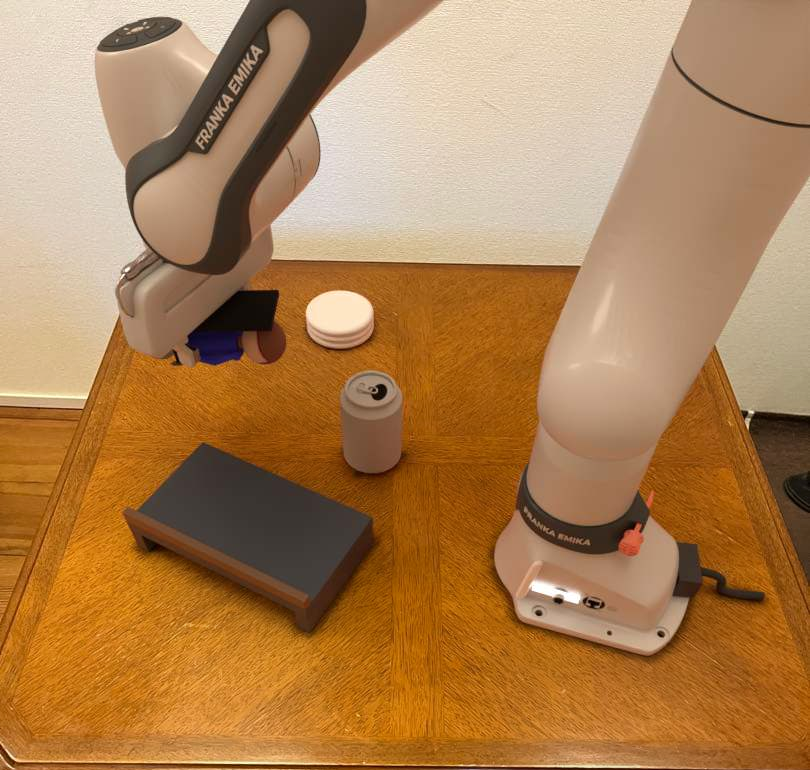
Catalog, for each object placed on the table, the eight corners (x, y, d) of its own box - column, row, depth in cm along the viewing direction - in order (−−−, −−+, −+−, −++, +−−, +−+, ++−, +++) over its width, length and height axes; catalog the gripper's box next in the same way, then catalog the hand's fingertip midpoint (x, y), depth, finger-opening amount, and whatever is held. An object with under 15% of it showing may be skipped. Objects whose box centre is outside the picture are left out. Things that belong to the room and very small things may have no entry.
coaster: (297, 342, 109) (294, 323, 106) (321, 302, 115) (319, 283, 112) (361, 356, 107) (360, 337, 104) (382, 315, 113) (382, 296, 110)
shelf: (373, 542, 88) (372, 508, 83) (310, 633, 81) (304, 602, 75) (210, 468, 94) (199, 432, 89) (138, 546, 87) (121, 512, 82)
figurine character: (156, 387, 82) (287, 377, 81) (128, 332, 76) (269, 320, 75) (169, 348, 86) (294, 338, 85) (143, 292, 80) (277, 280, 79)
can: (394, 482, 93) (395, 413, 84) (337, 472, 94) (331, 403, 84) (406, 440, 98) (408, 370, 88) (351, 431, 99) (347, 361, 89)
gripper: (138, 288, 64) (178, 407, 75) (274, 181, 74) (291, 298, 85) (83, 268, 65) (130, 386, 76) (224, 165, 76) (247, 282, 87)
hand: (216, 339), depth 81 cm, fingers closed on figurine character, 7 cm apart
